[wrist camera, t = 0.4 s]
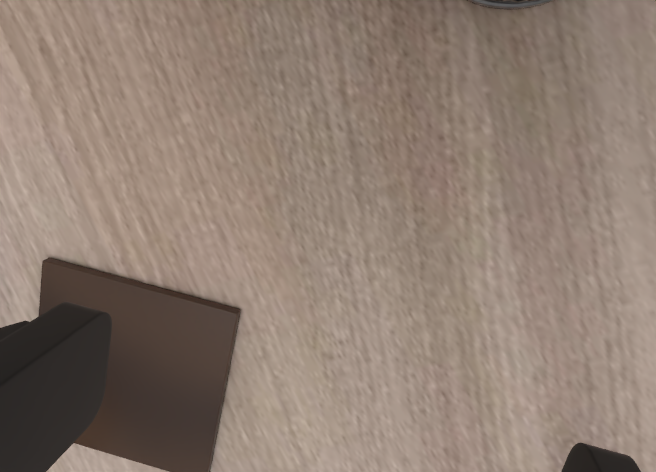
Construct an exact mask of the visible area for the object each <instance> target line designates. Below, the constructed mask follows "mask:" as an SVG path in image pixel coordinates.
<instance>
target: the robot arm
mask: <svg viewBox="0 0 656 472" xmlns="http://www.w3.org/2000/svg"><path fill="white" fill-rule="evenodd" d="M467 1H470V2H472V3H475V4H478V5H482V6H485V7H491V8H497V9H521V8H528V7H533V6H537V5H541V4H545V3H548V2H550V1H553V0H467ZM111 332H112V320H111V316H110V315H109V314H108V313H106V312H103V311H99V310H96V309H92V308H88V307H85V306H81V305H77V304H73V303H70V302H63V303H61V304H59V305H57V306H55V307H54V308H52V309H51V310H49V311H47V312H46V313H44V314H42V315H41V316H39V317H37V318H36V319H34V320H32V321H31V322H28V321H23V322H19V323H16V324H13V325H9V326H6V327H2V328H0V472H46V471H47V470H48V469H49V468H50V467H51V466H52V465H53V464H54V463H55V462H56V461H57V460H58V458H59V457H60V456H61V455H62V454H63V453H64V452H65V451H66V450H67V449H68V448H69V447H70V446H71V445H72V444H73V443H74V442H75V441H76V440H77V439H78V438H79V436H80V435H81V434H82V433H83V432H84V431H85V430H86V429H87V428H88V427H89V426H90V424H91V423H92V422H93V420H94V418H95V417H96V415H97V413H98V411H99V409H100V406H101V404H102V401H103V397H104V393H105V386H106V377H107V368H108V359H109V350H110V341H111ZM562 472H641V471H640V469H639V468H638V466H637V464H636V463H635V461H634V460H633V459H632V458H631V457H630V456H628V455H624V454H620V453H617V452H613V451H609V450H606V449H602V448H598V447H595V446H591V445H587V444H584V443H578V444H576V445H575V446H574V447H573V448H572V449H571V451H570V453H569V455H568V457H567V460H566V462H565V465H564V467H563V469H562Z"/></svg>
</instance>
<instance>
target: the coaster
mask: <svg viewBox="0 0 656 472" xmlns="http://www.w3.org/2000/svg"><path fill="white" fill-rule="evenodd" d="M63 302H70V303H73V304H77V305H81V306H85V307H88V308H92V309H96V310H99V311H103V312H106V313H108V314H109V315H110V316H111V320H112V332H111V341H110V350H109V359H108V368H107V377H106V386H105V393H104V397H103V401H102V404H101V406H100V409H99V411H98V413H97V415H96V417H95V418H94V420H93V422H92V423H91V424H90V426H89V427H88V428H87V429H86V430H85V431H84V432H83V433H82V434H81V435H80V436H79V438H78V439H77V440H76V441H75V442H74V443H76V444H79V445H82V446H86V447H89V448H93V449H96V450H99V451H103V452H106V453H109V454H113V455H116V456H119V457H123V458H126V459H129V460H133V461H136V462H139V463H143V464H146V465H149V466H153V467H156V468H159V469H163V470H166V471H170V472H210V469H211V463H212V458H213V453H214V448H215V442H216V437H217V432H218V427H219V421H220V416H221V411H222V406H223V400H224V395H225V390H226V385H227V379H228V374H229V369H230V364H231V358H232V353H233V348H234V343H235V337H236V332H237V327H238V322H239V316H240V309H236V308H233V307H229V306H225V305H222V304H218V303H214V302H211V301H207V300H203V299H200V298H196V297H192V296H188V295H185V294H181V293H177V292H174V291H170V290H166V289H163V288H159V287H155V286H152V285H148V284H144V283H141V282H137V281H133V280H130V279H126V278H122V277H118V276H115V275H111V274H107V273H104V272H100V271H96V270H93V269H89V268H85V267H82V266H78V265H74V264H71V263H67V262H63V261H59V260H56V259H52V258H48V259H46V260H43V264H42V278H41V292H40V307H39V316H41V315H42V314H44V313H46V312H47V311H49V310H51V309H52V308H54V307H55V306H57V305H59V304H61V303H63Z"/></svg>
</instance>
